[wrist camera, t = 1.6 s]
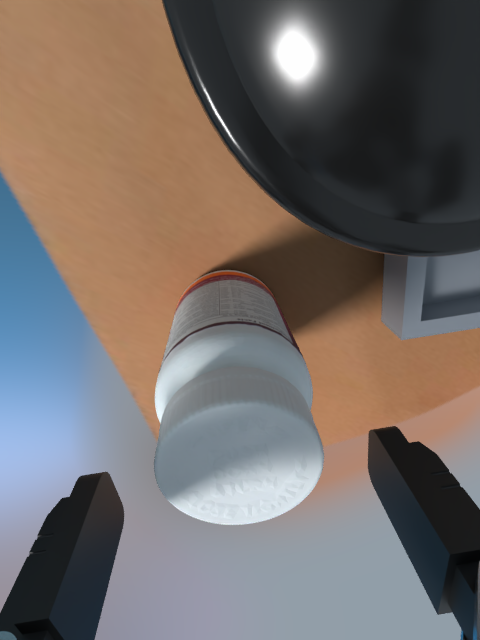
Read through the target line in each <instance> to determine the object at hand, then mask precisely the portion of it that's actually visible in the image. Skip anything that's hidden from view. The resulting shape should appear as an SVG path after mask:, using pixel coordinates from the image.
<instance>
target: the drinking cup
mask: <svg viewBox="0 0 480 640" xmlns="http://www.w3.org/2000/svg"><path fill="white" fill-rule="evenodd" d="M162 3H163V7H164V10H165V14H166V18H167V21H168V24H169V27H170V30H171V33H172V36H173V39H174V42H175V45H176V48H177V51H178V54H179V57H180V59H181V62H182V64H183V67H184V69H185V71H186V74H187V76H188V79H189V81H190V84H191V86H192V88H193V90H194V93H195V95H196V96H197V98H198V100H199V102H200V104H201V106H202V108H203V110H204V112H205V114H206V116H207V118H208V119H209V121H210V123H211V125H212V126H213V128H214V129H215V131H216V132H217V134H218V136H219V137H220V139H221V140H222V142H223V144H224V145H225V146H226V148H227V149H228V151H229V152H230V153H231V155H232V156H233V157H234V158H235V160H236V161H237V162H238V164H239V165H240V166H241V168H242V169H243V170H244V171H245V172H246V174H247V175H248V176H249V177H250V178H251V179H252V180H253V181H254V182H255V183H256V184H257V185H258V186H259V187H260V188H261V189H262V190H263V191H264V192H265V193H266V194H267V195H268V196H269V197H271V198H272V199H273V200H274V201H275V202H276V203H277V204H278V205H280V206H281V207H282V208H283V209H285V210H286V211H288V212H289V213H290V214H292V215H293V216H295V217H296V218H298V219H299V220H300V221H302V222H303V223H305V224H307V225H308V226H310V227H312V228H314V229H316V230H318V231H319V232H321V233H323V234H325V235H327V236H329V237H331V238H334V239H337V240H339V241H341V242H344V243H346V244H349V245H352V246H355V247H358V248H362V249H365V250H369V251H373V252H377V253H384V254H389V255H396V256H409V257H439V256H449V255H456V254H464V253H470V252H474V251H478V250H480V0H162Z"/></svg>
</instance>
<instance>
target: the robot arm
mask: <svg viewBox="0 0 480 640" xmlns="http://www.w3.org/2000/svg"><path fill="white" fill-rule="evenodd" d="M368 445H369V446H368V470H369V475H370V479H371V482H372V484H373V487H374V489H375V491H376V493H377V495H378V497H379V499H380V501H381V503H382V505H383V507H384V509H385V510H386V513H387V515H388V517H389V519H390V521H391V523H392V525H393V527H394V529H395V531H396V533H397V535H398V537H399V539H400V540H401V543H402V545H403V547H404V548H405V550H406V553H407V555H408V557H409V559H410V560H411V562H412V564H413V566H414V568H415V570H416V572H417V574H418V576H419V578H420V580H421V582H422V584H423V586H424V588H425V590H426V592H427V594H428V596H429V598H430V600H431V602H432V604H433V606H434V608H435V610H436V612H437V614H438V615H439V614H445V613H450V612H453V614H454V616H455V618H456V619H457V621H458V623H459V625H460V627H461V639H460V640H480V509H479V508H478V507H477V505H476V504H475V503H474V501H473V500H472V499H471V498H470V496H469V495H468V494H467V493H466V491H465V490H464V489H463V488H462V487H460V484H459V482H458V481H457V480H456V478H455V477H454V476H453V475H452V474H450V472H449V469H448V468H447V467H446V466H445V464H444V463H443V462H442V461H441V459H440V458H439V457H438V455H437V454H436V453H434V452H433V451H432V450H430V449H429V448H427V447H426V446H424V445H423V444H422V443H420V442H412V443H409V442H408V441H407V439H406V438H405V437H404V435H403V434H402V432H401V431H400V430H399V429H398V428H397V427H396V426H392V427H386V428H380V429H373V430H370V431H369V443H368ZM123 524H124V509H123V505H122V502H121V500H120V497H119V495H118V493H117V490H116V488H115V486H114V483H113V481H112V479H111V477H110V474H109V473H108V472H102V473H96V474H90V475H84V476H80V477H79V478H78V480H77V481H76V484H75V486H74V488H73V490H72V493H71V495H70V497H66V498H62V499H61V500H60V501H59V502H58V504H57V505H56V506H55V507H54V508H53V509H52V511H51V512H50V513H49V514H48V516H47V517H46V519H45V521H44V523H43V525H42V527H41V529H40V531H39V534H38V538H37V540H35V542H34V544H33V546H32V548H31V550H30V555H29V557H27V559H26V561H25V563H24V565H23V567H22V569H21V571H20V573H19V575H18V577H17V579H16V581H15V584H14V586H13V588H12V590H11V592H10V594H9V596H8V598H7V600H6V602H5V604H4V606H3V609H2V611H1V613H0V640H94V639H95V635H96V631H97V627H98V623H99V619H100V616H101V612H102V607H103V603H104V600H105V596H106V592H107V588H108V584H109V580H110V576H111V572H112V568H113V564H114V560H115V556H116V552H117V549H118V545H119V540H120V537H121V532H122V529H123Z"/></svg>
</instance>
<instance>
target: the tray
mask: <svg viewBox="0 0 480 640" xmlns="http://www.w3.org/2000/svg"><path fill="white" fill-rule="evenodd" d="M381 321H382V322H383V323H384V324H385V325H386V326H387V327H388V328H389V329H390V330H391V331H392V332H393V333H394V334H395V335H397V336H398V337H399V338H400V339H401V340H405V339H412V338H418V337H424V336H431V335H437V334H443V333H449V332H456V331H462V330H468V329H475V328H480V250H478V251H474V252H470V253H464V254H456V255H449V256H439V257H409V256H396V255H389V254H384V275H383V296H382V317H381Z"/></svg>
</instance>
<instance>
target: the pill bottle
mask: <svg viewBox="0 0 480 640" xmlns="http://www.w3.org/2000/svg"><path fill="white" fill-rule="evenodd" d="M312 398H313V390H312V382H311V378H310V374H309V371H308V369H307V366H306V363H305V361H304V359H303V356H302V354H301V352H300V350H299V347H298V346H297V344H296V342H295V340H294V338H293V336H292V333H291V332H290V329H289V327H288V325H287V322H286V320H285V319H284V316H283V314H282V312H281V309H280V308H279V305H278V303H277V301H276V299H275V297H274V296H273V294H272V292H271V291H270V290H269V288H268V287H267V286H266V285H265V284H264V283H263V282H261V281H260V280H259V279H257V278H256V277H254V276H252V275H250V274H248V273H244V272H240V271H235V270H221V271H216V272H211V273H209V274H206V275H204V276H202V277H200V278H199V279H197V280H196V281H194V282H193V283H192V284H191V285H190V286H189V287H188V288H187V289H186V290H185V291H184V293H183V294H182V296H181V298H180V300H179V302H178V305H177V308H176V312H175V316H174V319H173V323H172V327H171V330H170V335H169V339H168V342H167V346H166V349H165V353H164V357H163V361H162V365H161V368H160V370H159V375H158V379H157V384H156V390H155V406H156V412H157V416H158V419H159V421H160V430H159V438H158V443H157V447H156V452H155V459H154V471H155V477H156V481H157V484H158V486H159V488H160V490H161V492H162V493H163V495H164V496H165V497H166V498H167V500H168V501H169V502H170V503H171V504H173V505H174V506H175V507H176V508H178V509H179V510H181V511H182V512H183V513H185V514H187V515H189V516H191V517H194V518H196V519H199V520H202V521H206V522H210V523H217V524H224V525H241V524H251V523H257V522H260V521H264V520H269V519H271V518H274V517H277V516H279V515H281V514H283V513H285V512H287V511H289V510H290V509H292V508H293V507H295V506H297V505H298V504H299V503H300V502H301V501H303V500H304V499H305V498H306V497H307V496H308V495H309V494H310V492H311V491H312V490H313V488H314V487H315V485H316V484H317V482H318V480H319V478H320V475H321V472H322V470H323V463H324V452H323V446H322V442H321V439H320V436H319V434H318V431H317V428H316V426H315V423H314V421H313V417H312V414H311V411H310V410H311V406H312Z"/></svg>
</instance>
